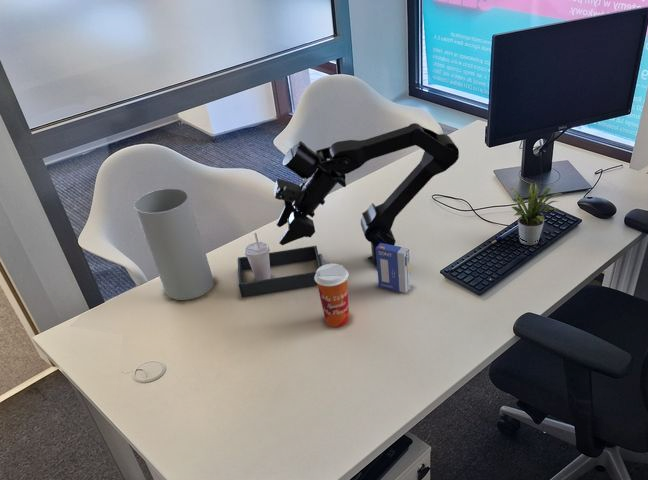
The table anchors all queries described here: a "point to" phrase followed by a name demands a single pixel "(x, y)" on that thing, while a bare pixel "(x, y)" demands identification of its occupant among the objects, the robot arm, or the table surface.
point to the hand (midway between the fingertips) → (279, 234)
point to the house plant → (532, 215)
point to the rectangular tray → (280, 282)
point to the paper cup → (333, 293)
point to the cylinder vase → (175, 243)
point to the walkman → (393, 267)
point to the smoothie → (259, 259)
